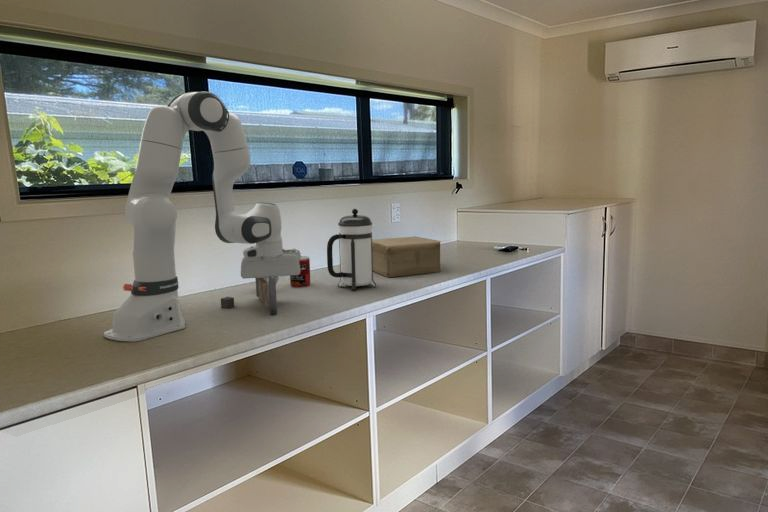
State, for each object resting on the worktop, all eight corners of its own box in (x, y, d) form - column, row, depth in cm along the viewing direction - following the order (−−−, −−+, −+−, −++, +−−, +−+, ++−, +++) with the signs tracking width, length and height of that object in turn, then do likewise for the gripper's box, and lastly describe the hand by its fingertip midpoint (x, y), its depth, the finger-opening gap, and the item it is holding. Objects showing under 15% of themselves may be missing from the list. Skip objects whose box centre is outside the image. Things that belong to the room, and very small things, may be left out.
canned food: (286, 286, 209) (285, 258, 208) (297, 282, 217) (296, 255, 215) (303, 288, 207) (302, 259, 205) (314, 283, 214) (313, 256, 212)
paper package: (414, 263, 256) (414, 234, 254) (443, 272, 233) (443, 240, 231) (362, 269, 244) (361, 238, 242) (387, 279, 222) (386, 245, 219)
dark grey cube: (234, 306, 181) (233, 297, 180) (227, 308, 178) (227, 299, 177) (227, 305, 182) (227, 296, 182) (221, 307, 179) (220, 298, 179)
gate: (274, 309, 172) (273, 285, 171) (268, 309, 172) (267, 286, 170) (262, 295, 191) (261, 274, 190) (256, 295, 191) (255, 274, 189)
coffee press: (340, 282, 216) (338, 207, 211) (379, 283, 213) (378, 207, 208) (327, 292, 199) (324, 210, 194) (369, 293, 196) (368, 210, 191)
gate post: (274, 315, 168) (272, 277, 167) (267, 314, 170) (265, 277, 168) (278, 313, 171) (276, 276, 169) (272, 312, 172) (270, 275, 170)
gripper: (299, 246, 190) (301, 285, 192) (239, 250, 185) (242, 289, 187) (300, 249, 184) (302, 289, 186) (238, 252, 179) (241, 293, 181)
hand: (271, 289), depth 187 cm, fingers closed
